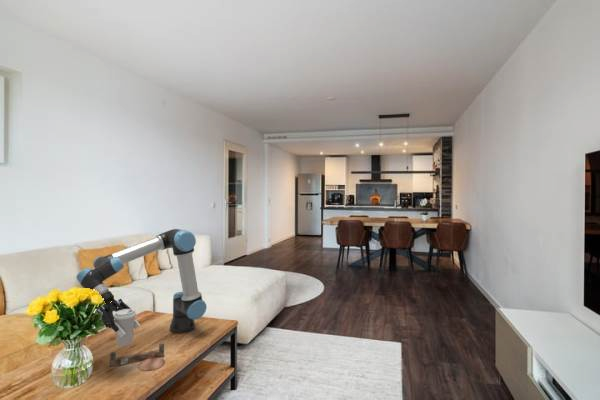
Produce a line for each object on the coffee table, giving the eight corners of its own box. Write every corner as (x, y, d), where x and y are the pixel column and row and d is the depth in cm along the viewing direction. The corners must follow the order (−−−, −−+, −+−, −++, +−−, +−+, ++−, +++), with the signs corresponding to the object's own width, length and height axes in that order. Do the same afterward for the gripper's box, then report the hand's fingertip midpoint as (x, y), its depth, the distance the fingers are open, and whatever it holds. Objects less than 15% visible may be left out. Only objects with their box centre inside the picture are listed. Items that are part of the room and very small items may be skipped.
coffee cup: (126, 348, 148) (126, 315, 148) (108, 346, 150) (108, 314, 150) (140, 339, 158) (140, 309, 158) (123, 337, 159) (123, 307, 160)
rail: (163, 354, 170) (163, 343, 170) (166, 367, 157) (166, 355, 157) (110, 364, 159) (110, 352, 159) (108, 379, 146) (108, 366, 146)
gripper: (114, 294, 167) (141, 327, 165) (77, 308, 146) (108, 346, 143) (123, 284, 167) (150, 317, 164) (88, 297, 145) (118, 335, 142)
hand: (130, 331), depth 153 cm, fingers closed on coffee cup, 9 cm apart
